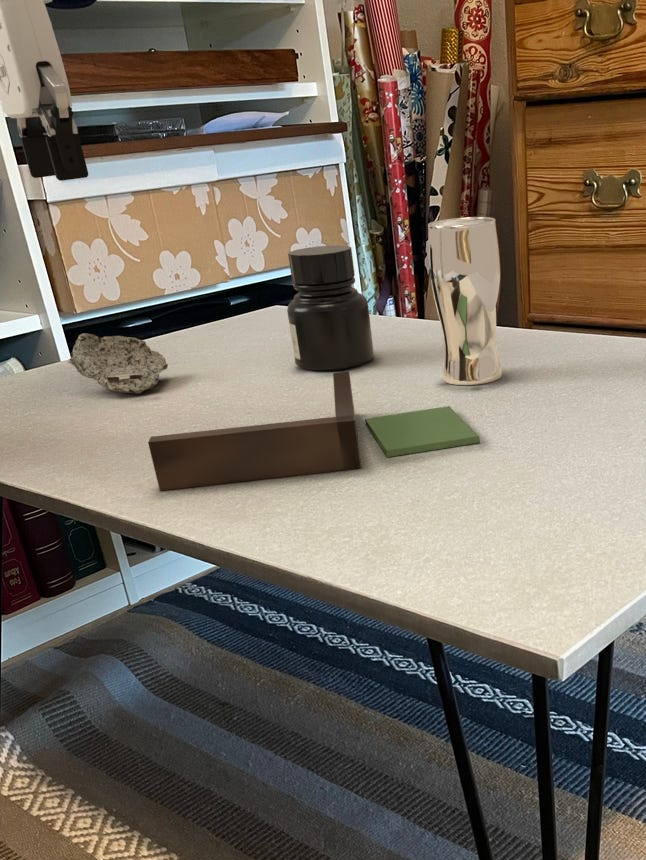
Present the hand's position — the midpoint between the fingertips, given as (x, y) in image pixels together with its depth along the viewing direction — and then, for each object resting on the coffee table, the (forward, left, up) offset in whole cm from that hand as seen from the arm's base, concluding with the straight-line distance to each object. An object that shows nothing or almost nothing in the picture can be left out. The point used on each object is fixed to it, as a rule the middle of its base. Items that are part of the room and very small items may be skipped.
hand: (59, 177), depth 105 cm
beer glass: (+41, -20, -21) cm, 50 cm away
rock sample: (+5, -9, -21) cm, 23 cm away
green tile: (+34, -37, -21) cm, 54 cm away
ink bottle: (+27, -7, -21) cm, 35 cm away
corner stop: (+20, -37, -21) cm, 47 cm away
